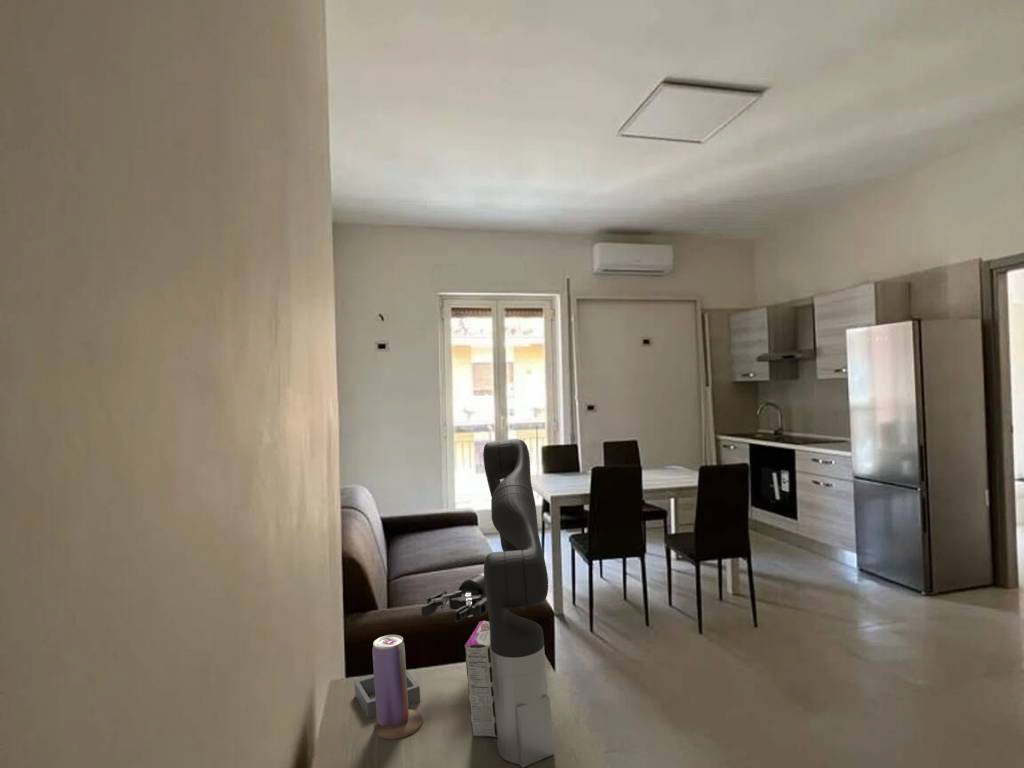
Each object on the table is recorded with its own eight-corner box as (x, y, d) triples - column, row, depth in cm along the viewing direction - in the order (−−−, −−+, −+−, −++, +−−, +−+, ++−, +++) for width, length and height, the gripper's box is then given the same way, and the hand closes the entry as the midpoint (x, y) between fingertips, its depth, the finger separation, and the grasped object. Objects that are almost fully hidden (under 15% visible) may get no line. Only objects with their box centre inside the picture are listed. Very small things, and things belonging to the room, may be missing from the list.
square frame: (420, 701, 114) (419, 686, 114) (368, 718, 109) (367, 703, 109) (404, 680, 123) (403, 666, 123) (355, 695, 118) (354, 681, 118)
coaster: (429, 728, 104) (429, 725, 104) (381, 745, 99) (381, 742, 100) (413, 706, 112) (413, 704, 112) (368, 722, 107) (368, 719, 107)
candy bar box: (485, 703, 111) (479, 619, 111) (510, 704, 110) (504, 620, 110) (470, 737, 100) (463, 644, 101) (497, 739, 99) (490, 644, 100)
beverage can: (391, 733, 102) (386, 650, 102) (370, 724, 106) (365, 643, 106) (415, 717, 107) (410, 638, 107) (394, 708, 110) (389, 632, 111)
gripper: (456, 572, 134) (411, 593, 121) (507, 577, 127) (465, 600, 113) (459, 603, 134) (413, 628, 120) (509, 610, 127) (467, 638, 113)
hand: (438, 614), depth 117 cm, fingers open, 8 cm apart
